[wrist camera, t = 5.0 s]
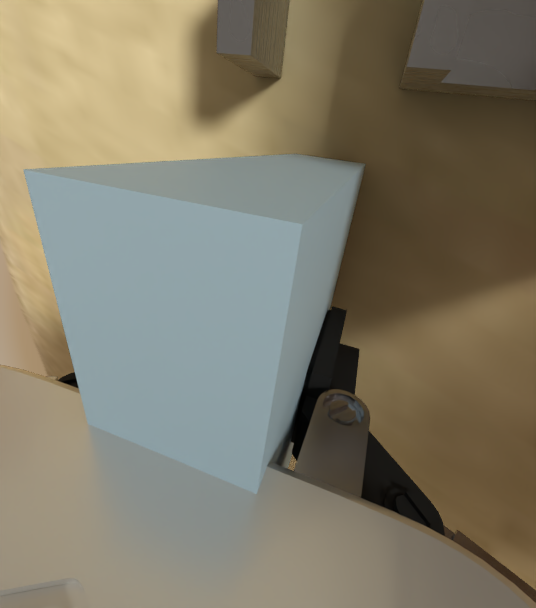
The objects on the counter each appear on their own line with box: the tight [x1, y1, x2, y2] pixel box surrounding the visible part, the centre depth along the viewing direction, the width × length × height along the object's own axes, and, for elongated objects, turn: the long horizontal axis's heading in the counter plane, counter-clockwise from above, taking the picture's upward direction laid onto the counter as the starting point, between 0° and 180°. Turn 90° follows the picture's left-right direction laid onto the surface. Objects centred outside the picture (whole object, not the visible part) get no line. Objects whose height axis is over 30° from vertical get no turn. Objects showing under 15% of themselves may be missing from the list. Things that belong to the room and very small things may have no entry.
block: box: [24, 154, 366, 494], centre depth 10 cm, size 4×12×10 cm, turn 173°
